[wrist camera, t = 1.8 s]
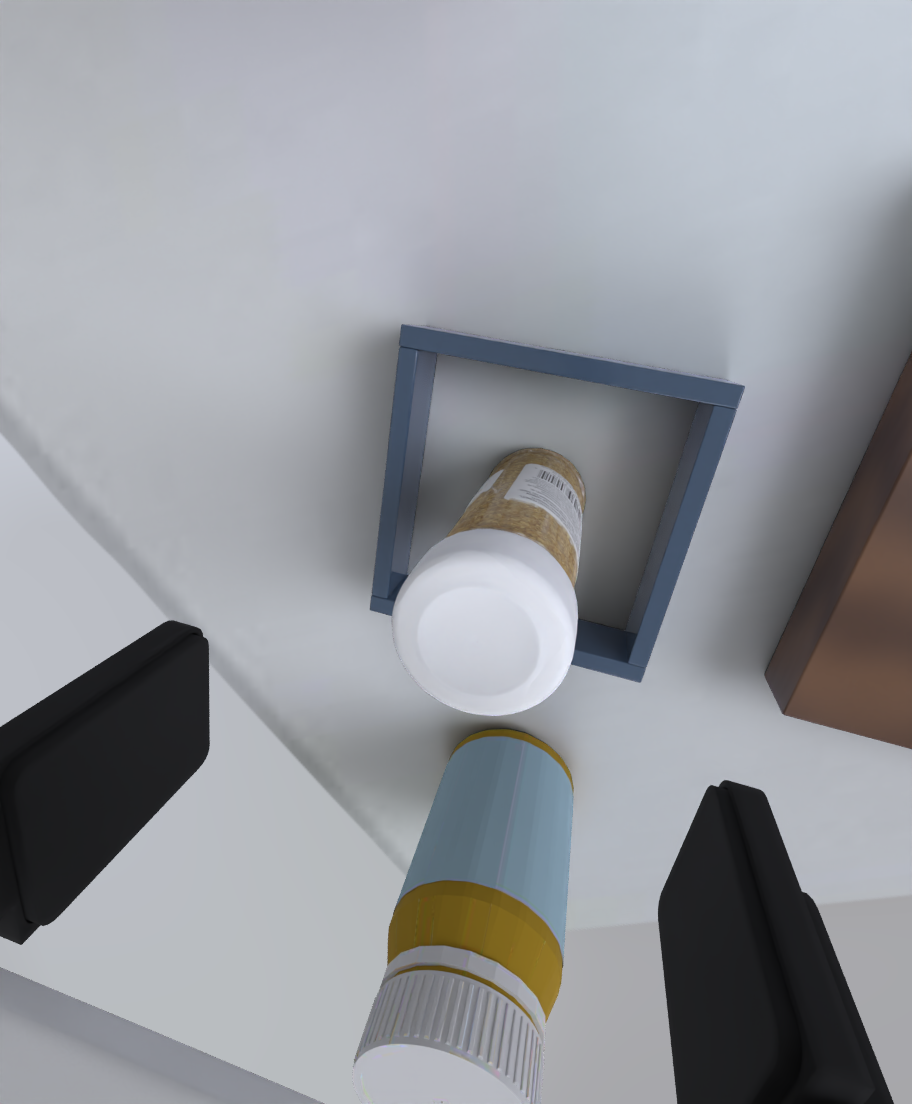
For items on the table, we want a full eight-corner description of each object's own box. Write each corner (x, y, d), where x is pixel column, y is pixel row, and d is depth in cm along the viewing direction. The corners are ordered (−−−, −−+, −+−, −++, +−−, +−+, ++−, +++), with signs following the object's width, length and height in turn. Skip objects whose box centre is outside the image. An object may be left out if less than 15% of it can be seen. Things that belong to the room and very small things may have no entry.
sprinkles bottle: (471, 470, 26) (353, 590, 14) (564, 429, 24) (526, 524, 12) (511, 556, 27) (436, 740, 15) (603, 523, 25) (605, 699, 13)
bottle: (584, 738, 29) (569, 1085, 16) (562, 835, 32) (533, 1202, 18) (456, 708, 31) (340, 1005, 17) (445, 803, 33) (337, 1125, 20)
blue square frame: (423, 325, 24) (400, 323, 21) (728, 379, 22) (745, 386, 19) (391, 584, 29) (369, 610, 26) (637, 648, 27) (641, 683, 24)
